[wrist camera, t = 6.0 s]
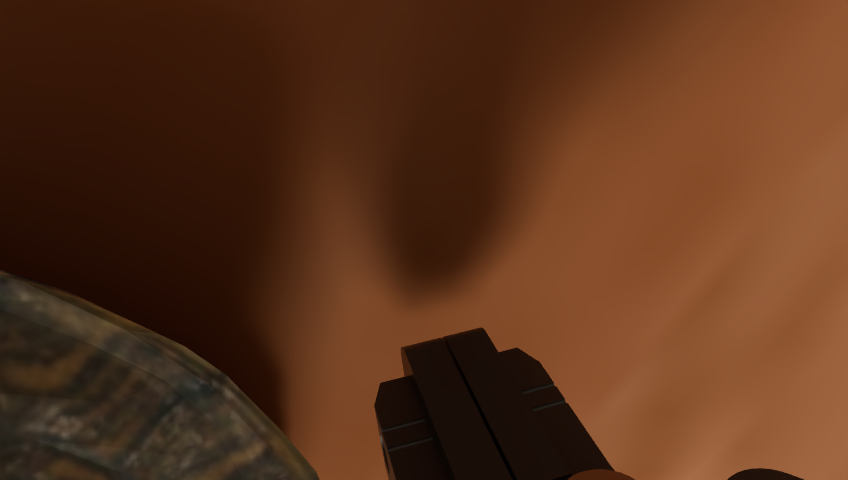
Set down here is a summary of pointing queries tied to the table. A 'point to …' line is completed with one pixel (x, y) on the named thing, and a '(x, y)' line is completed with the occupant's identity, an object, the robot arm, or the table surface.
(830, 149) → the table surface
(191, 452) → the turtle shell
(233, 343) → the table surface
